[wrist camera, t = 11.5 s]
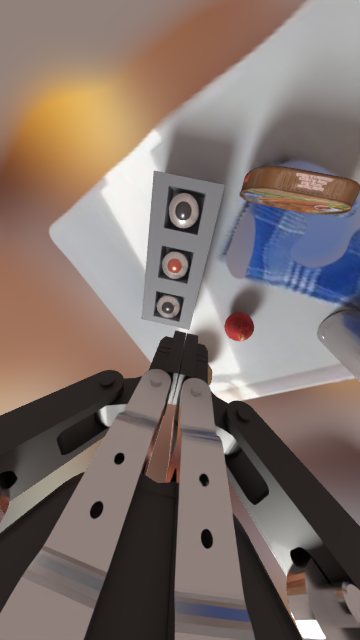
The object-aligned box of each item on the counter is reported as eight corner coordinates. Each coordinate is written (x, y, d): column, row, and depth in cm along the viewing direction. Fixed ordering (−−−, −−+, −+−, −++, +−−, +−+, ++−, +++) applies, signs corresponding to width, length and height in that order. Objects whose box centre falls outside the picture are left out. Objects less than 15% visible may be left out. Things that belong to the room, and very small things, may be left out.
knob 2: (202, 199, 28) (201, 196, 24) (196, 230, 30) (194, 231, 26) (175, 194, 28) (170, 189, 24) (171, 224, 30) (166, 225, 27)
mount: (221, 192, 29) (225, 184, 24) (191, 316, 41) (189, 329, 36) (163, 180, 29) (153, 170, 24) (150, 306, 41) (141, 318, 36)
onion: (221, 309, 39) (224, 327, 32) (248, 304, 38) (257, 322, 31) (225, 330, 42) (228, 352, 35) (250, 327, 40) (259, 348, 33)
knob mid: (191, 251, 32) (189, 255, 28) (187, 275, 34) (184, 281, 30) (168, 246, 32) (163, 249, 28) (165, 270, 34) (160, 276, 30)
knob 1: (183, 292, 36) (180, 300, 32) (179, 311, 38) (176, 320, 34) (162, 287, 36) (157, 295, 32) (160, 306, 38) (155, 315, 34)
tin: (235, 199, 29) (244, 191, 22) (241, 175, 28) (254, 158, 20) (324, 217, 29) (364, 214, 22) (336, 194, 27) (384, 183, 20)
